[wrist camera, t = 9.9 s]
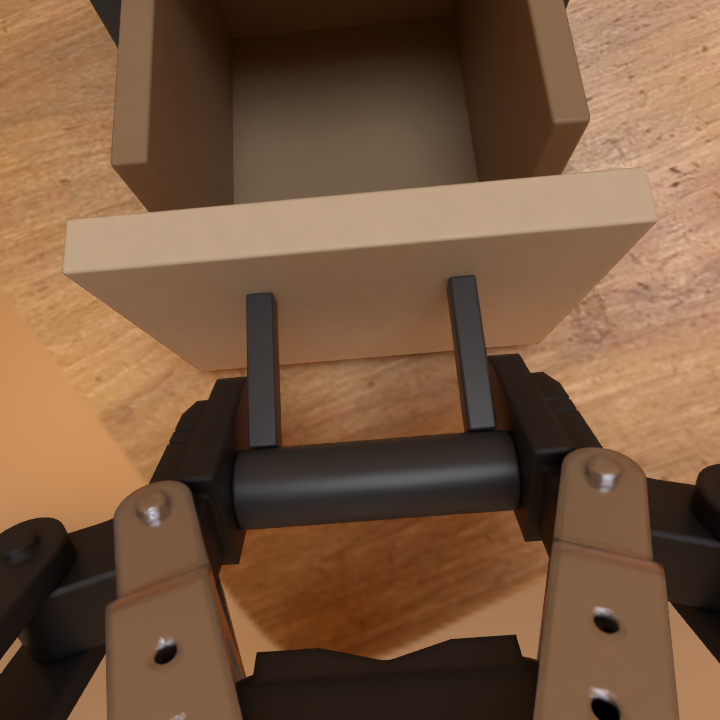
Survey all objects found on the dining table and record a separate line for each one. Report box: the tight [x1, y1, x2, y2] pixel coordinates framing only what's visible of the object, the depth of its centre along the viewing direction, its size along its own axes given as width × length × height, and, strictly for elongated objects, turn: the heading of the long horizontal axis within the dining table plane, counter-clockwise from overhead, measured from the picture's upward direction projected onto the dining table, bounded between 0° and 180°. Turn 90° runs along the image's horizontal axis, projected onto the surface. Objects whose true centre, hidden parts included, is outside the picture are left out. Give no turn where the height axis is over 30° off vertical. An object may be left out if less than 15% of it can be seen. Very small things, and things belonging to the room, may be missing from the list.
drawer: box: [62, 0, 658, 530], centre depth 15 cm, size 18×11×8 cm, turn 4°
